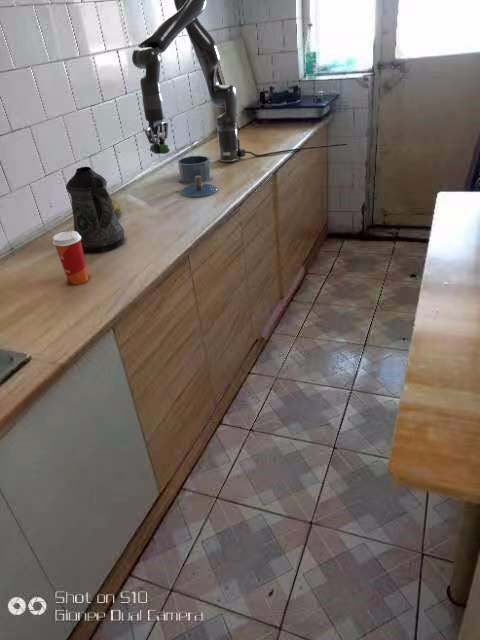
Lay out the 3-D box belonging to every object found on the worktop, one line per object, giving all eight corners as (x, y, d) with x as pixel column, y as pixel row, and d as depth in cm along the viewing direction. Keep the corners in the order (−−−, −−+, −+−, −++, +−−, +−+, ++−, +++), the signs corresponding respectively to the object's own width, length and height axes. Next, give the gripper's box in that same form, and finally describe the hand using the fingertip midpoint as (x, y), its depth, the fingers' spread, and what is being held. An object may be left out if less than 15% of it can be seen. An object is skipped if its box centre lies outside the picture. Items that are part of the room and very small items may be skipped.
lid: (205, 184, 204) (203, 168, 201) (224, 192, 194) (222, 176, 191) (175, 192, 198) (173, 176, 194) (193, 201, 188) (191, 184, 184)
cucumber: (149, 153, 194) (148, 145, 192) (154, 151, 196) (152, 142, 195) (167, 154, 191) (166, 145, 189) (171, 152, 193) (170, 143, 191)
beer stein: (94, 231, 169) (76, 159, 155) (142, 235, 163) (128, 161, 149) (65, 251, 156) (43, 175, 142) (116, 257, 150) (98, 178, 136)
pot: (200, 172, 219) (198, 154, 214) (217, 179, 209) (215, 159, 204) (174, 179, 212) (172, 160, 208) (190, 186, 203) (188, 166, 198)
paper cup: (68, 275, 142) (55, 231, 134) (94, 272, 142) (82, 228, 134) (62, 288, 135) (48, 242, 127) (89, 285, 136) (77, 240, 128)
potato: (129, 210, 184) (125, 190, 179) (112, 223, 174) (107, 202, 169) (111, 209, 186) (106, 189, 182) (92, 222, 176) (87, 201, 172)
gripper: (151, 110, 177) (159, 157, 187) (171, 103, 188) (177, 147, 197) (134, 110, 180) (143, 156, 190) (155, 102, 190) (161, 147, 200)
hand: (160, 151), depth 193 cm, fingers closed on cucumber, 3 cm apart
